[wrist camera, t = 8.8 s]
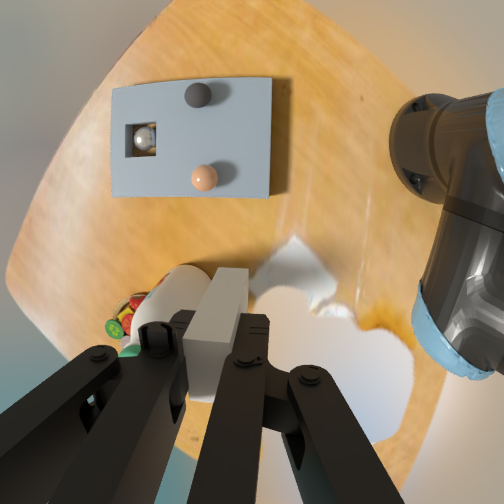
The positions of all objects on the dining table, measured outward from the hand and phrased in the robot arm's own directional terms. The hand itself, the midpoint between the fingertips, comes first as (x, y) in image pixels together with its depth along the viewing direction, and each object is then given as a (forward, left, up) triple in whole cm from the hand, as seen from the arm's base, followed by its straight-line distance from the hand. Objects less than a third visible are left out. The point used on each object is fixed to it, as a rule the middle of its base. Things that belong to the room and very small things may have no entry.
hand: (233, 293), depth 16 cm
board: (+10, -9, -26) cm, 29 cm away
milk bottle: (+10, +12, -27) cm, 31 cm away
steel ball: (+15, -9, -25) cm, 30 cm away
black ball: (+8, -14, -22) cm, 27 cm away
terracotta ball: (+7, -4, -22) cm, 24 cm away
